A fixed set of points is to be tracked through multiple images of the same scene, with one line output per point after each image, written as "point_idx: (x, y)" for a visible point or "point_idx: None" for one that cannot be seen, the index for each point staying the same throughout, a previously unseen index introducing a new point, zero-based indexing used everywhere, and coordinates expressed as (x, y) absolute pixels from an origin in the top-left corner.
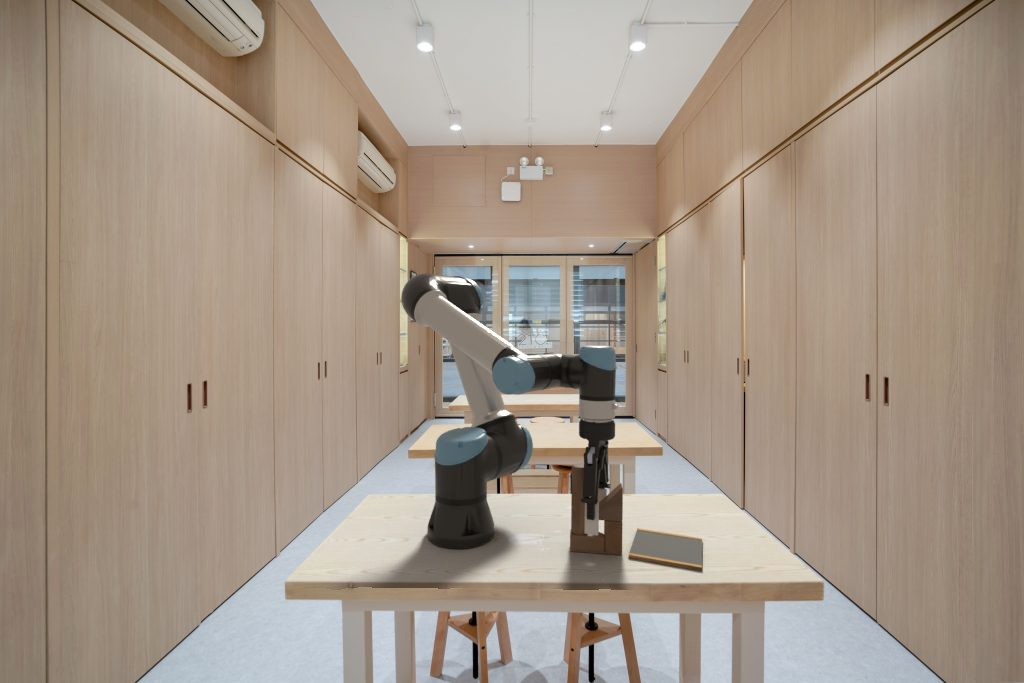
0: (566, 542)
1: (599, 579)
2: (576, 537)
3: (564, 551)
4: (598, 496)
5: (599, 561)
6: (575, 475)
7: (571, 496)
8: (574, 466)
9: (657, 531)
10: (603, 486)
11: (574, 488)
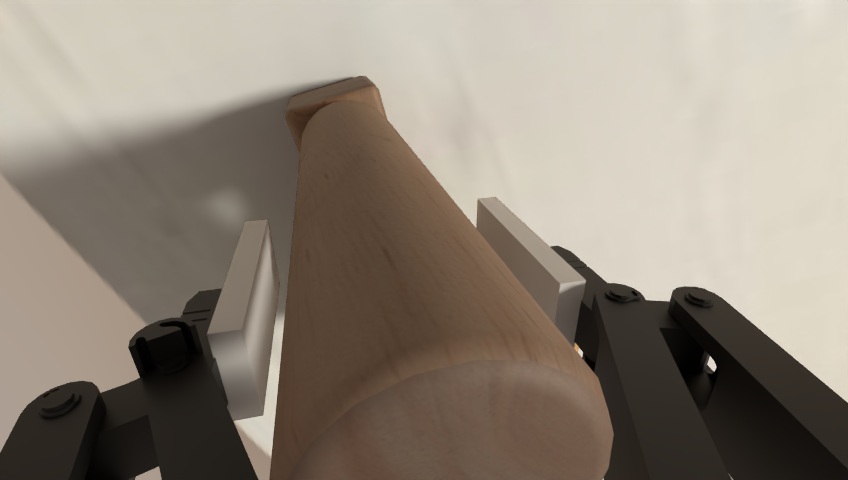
0: (380, 46)
1: (125, 280)
2: (296, 143)
3: (280, 67)
4: (531, 285)
5: (272, 237)
6: (284, 361)
7: (347, 153)
8: (325, 461)
9: (576, 347)
10: (584, 351)
11: (293, 243)
